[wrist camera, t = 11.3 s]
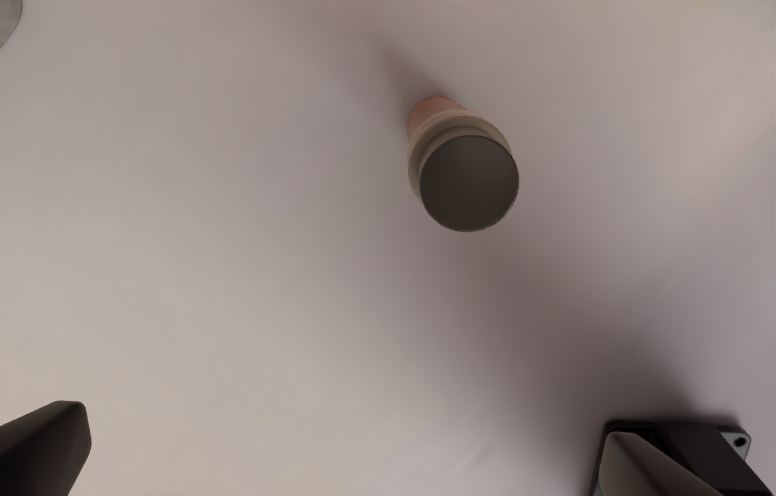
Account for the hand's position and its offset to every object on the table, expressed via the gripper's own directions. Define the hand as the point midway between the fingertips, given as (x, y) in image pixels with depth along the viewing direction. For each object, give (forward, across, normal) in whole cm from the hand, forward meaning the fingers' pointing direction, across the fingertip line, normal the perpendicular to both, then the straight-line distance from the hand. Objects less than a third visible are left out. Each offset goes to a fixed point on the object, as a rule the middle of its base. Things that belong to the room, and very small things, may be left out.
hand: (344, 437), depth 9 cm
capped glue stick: (+13, -2, -4) cm, 14 cm away
